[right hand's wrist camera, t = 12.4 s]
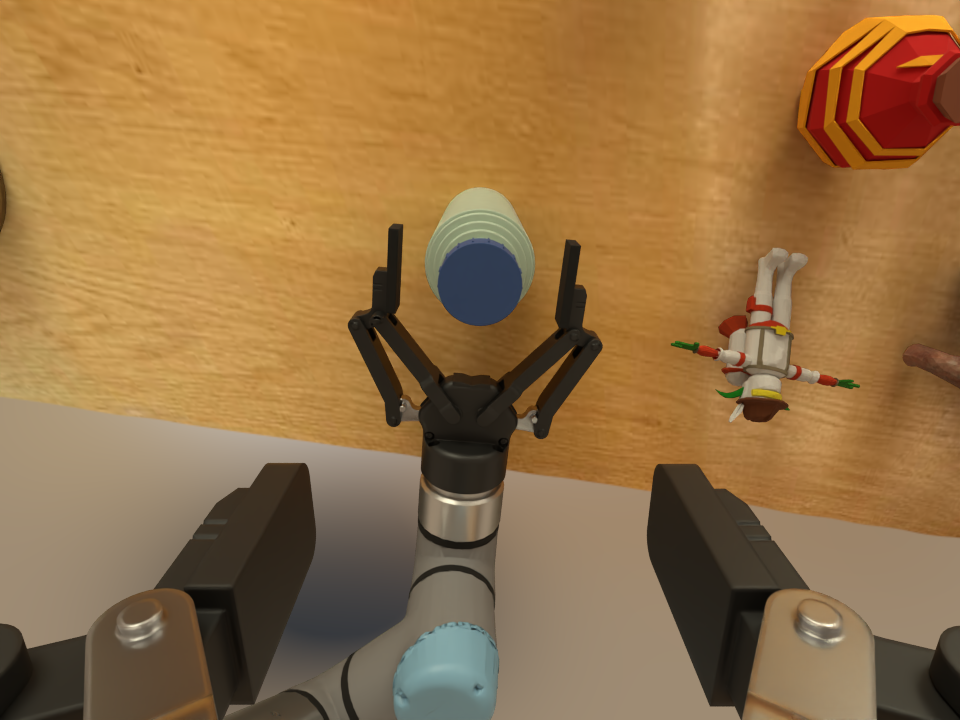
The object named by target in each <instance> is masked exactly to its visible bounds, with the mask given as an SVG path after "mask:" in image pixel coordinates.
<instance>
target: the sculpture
mask: <svg viewBox="0 0 960 720" xmlns="http://www.w3.org/2000/svg"><path fill="white" fill-rule="evenodd" d="M902 358H903V360H904V362H905V363H906V364H907V365H908V366H917V367H919V368H921V369H924V370H926V371H928V372H931V373H932V374H934V375H936V376H938V377H940V378H942V379H944V380H946V381H948V382H949V383H951V384H953V385H955V386H957V387H958V388H960V356H955V355H950V354H947V353H945V352H942V351H939V350H936V349H933V348H930V347H926V346H924V345H921V344H914V345H911V346H909V347H908V348H907V349H906V351H905V352H904V353H903V357H902Z"/></svg>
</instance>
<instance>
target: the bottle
mask: <svg viewBox="0 0 960 720" xmlns="http://www.w3.org/2000/svg"><path fill="white" fill-rule="evenodd" d="M473 237H474V238H486V239H488V238H490V239H491V240H494V241H496V242H498V243H500V244H504V246H505V247H506V248H507V249H508V250H509V251H510V252H511V253H512V254H514V255H515V258H516V261H517V263H518V266H519V268H521V271H522V274H521V276H522V287H523V289H522V292H521V296H520V299H519V302H520V300H521V299H522V298H523V297H524V296H525V294H526V293H527V291H528V289H529V287H530V285H531V283H532V280H533V276H534V271H535V256H534V251H533V247H532V244H531V242H530V240H529V238H528V236H527V234H526V232H525V230H524V228H523V226H522V224H521V222H520V220H519V218H518V216H517V214H516V212H515V210H514V208H513V206H512V205H511V203H510V202H509V201H508V200H507V198H505V197H504V196H503V195H502V194H500V193H499V192H497V191H495V190H492V189H489V188H483V187H477V188H471V189H468V190H465V191H463V192H461V193H460V194H458V195H457V196H456V197H455V198H454V199H452V201H451V202H450V203H449V205H448V206H447V208H446V210H445V212H444V214H443V216H442V218H441V220H440V222H439V224H438V226H437V228H436V230H435V232H434V234H433V236H432V238H431V240H430V242H429V244H428V247H427V251H426V257H425V270H426V276H427V280H428V283H429V285H430V287H431V289H432V291H433V293H434V294H435V296H436V297H437V298H438V299H439V300H440V302H441V299H440V297H439V293H438V287H437V285H438V276H439V272H438V271H439V268H440V266H442V263H443V261H444V259H445V257H446V254H447V253H449V252H450V251H451V250H452V249H453V248H454V247H455V246H457V244H458V243H462V242H464V241H466V240H469V239H472V238H473ZM519 302H518V303H519ZM441 303H442V302H441Z"/></svg>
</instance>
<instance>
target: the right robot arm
mask: <svg viewBox="0 0 960 720" xmlns="http://www.w3.org/2000/svg"><path fill="white" fill-rule="evenodd" d="M315 542H316V527H315V518H314V509H313V501H312V492H311V484H310V475H309V470H308V467H307V465H306V464H305V463H267V464H266V465H265V466H264V467H263V469H262V470H261V472H260V473H259V475H258V476H257V478H256V479H255V481H254V482H253V484H252V485H251V487H250V488H237V489H236V490H235V491H233V492H232V493H230V494H229V495H228V496H226V497H225V498H223V499H222V500H220V501H219V502H218V503H216V505H215V506H214V507H213V509H212V510H211V512H210V513H209V514H208V516H207V517H206V518H205V520H204V523H203V524H201V525H200V527H199V528H198V529H197V531H196V532H195V533H194V535H193V539H191V540H189V542H188V543H187V544H186V546H185V547H184V548H183V550H182V551H181V553H180V554H179V555H178V557H177V558H176V559H175V561H174V562H173V563H172V565H171V566H170V568H169V569H168V570H167V572H166V573H165V574H164V576H163V577H162V579H161V580H160V581H159V583H158V584H157V585H156V587H155V588H154V589H153V590H148V591H145V592H141V593H138V594H135V595H133V596H130V597H128V598H126V599H124V600H122V601H120V602H119V603H117V604H115V605H114V606H112V607H111V608H109V609H108V610H107V611H105V612H104V613H103V614H102V615H101V616H100V617H99V618H98V619H97V620H96V621H95V622H94V624H93V625H92V626H91V628H90V629H89V632H88V634H87V635H85V636H81V637H77V638H72V639H68V640H64V641H59V642H55V643H51V644H47V645H43V646H38V647H34V648H29V649H27V648H26V645H25V642H24V639H23V636H22V633H21V632H20V631H19V629H17V628H16V627H14V626H11V625H8V624H0V720H223V718H224V716H225V714H226V711H227V709H228V707H229V705H254V704H255V701H256V699H257V696H258V694H259V691H260V689H261V686H262V684H263V681H264V679H265V676H266V674H267V671H268V669H269V666H270V664H271V661H272V659H273V656H274V654H275V651H276V649H277V646H278V644H279V641H280V639H281V636H282V634H283V631H284V629H285V626H286V624H287V621H288V619H289V616H290V614H291V611H292V609H293V607H294V604H295V602H296V599H297V596H298V594H299V592H300V589H301V587H302V584H303V582H304V579H305V577H306V574H307V572H308V569H309V567H310V564H311V562H312V559H313V555H314V550H315ZM647 545H648V552H649V556H650V560H651V563H652V565H653V568H654V570H655V573H656V575H657V578H658V580H659V582H660V585H661V587H662V590H663V592H664V595H665V597H666V600H667V602H668V605H669V607H670V609H671V612H672V614H673V617H674V619H675V622H676V624H677V627H678V629H679V631H680V634H681V636H682V639H683V641H684V644H685V646H686V648H687V651H688V654H689V656H690V658H691V661H692V663H693V666H694V668H695V671H696V673H697V675H698V678H699V680H700V683H701V685H702V688H703V690H704V693H705V695H706V698H707V700H708V703H709V705H710V706H735V708H736V710H737V712H738V714H739V716H740V719H741V720H960V626H954V627H951V628H948V629H947V630H945V631H944V632H943V633H942V634H941V636H940V639H939V642H938V644H937V647H936V650H932V649H928V648H924V647H919V646H915V645H911V644H907V643H902V642H898V641H894V640H889V639H885V638H882V637H878V636H875V635H873V634H872V632H871V630H870V628H869V626H868V625H867V623H866V622H865V621H864V620H863V619H862V618H861V617H860V616H859V615H858V614H857V613H856V612H855V611H853V610H852V609H851V608H849V607H848V606H846V605H845V604H843V603H841V602H840V601H838V600H836V599H834V598H832V597H830V596H827V595H825V594H822V593H819V592H815V591H812V590H810V589H809V587H808V586H807V585H806V583H805V582H804V581H803V579H802V578H801V577H800V575H799V574H798V573H797V571H796V570H795V569H794V567H793V566H792V564H791V563H790V562H789V560H788V559H787V558H786V556H785V555H784V554H783V552H782V551H781V550H780V548H779V547H778V545H777V544H776V543H775V541H772V540H771V536H770V535H769V533H768V532H767V531H766V529H765V528H764V526H761V525H760V521H759V520H758V518H757V517H756V516H755V514H754V513H753V512H752V510H751V509H750V508H749V506H748V505H747V504H746V503H745V502H743V501H742V500H740V499H739V498H737V497H736V496H735V495H733V494H732V493H730V492H729V491H727V490H726V489H714V488H713V487H712V485H711V484H710V482H709V481H708V479H707V478H706V476H705V475H704V473H703V472H702V470H701V469H700V468H699V466H698V465H696V464H658V465H657V466H656V468H655V471H654V476H653V484H652V492H651V501H650V509H649V518H648V526H647Z"/></svg>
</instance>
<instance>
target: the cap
mask: <svg viewBox="0 0 960 720" xmlns="http://www.w3.org/2000/svg"><path fill="white" fill-rule="evenodd" d="M438 272H439V276H438V285H437V287H438V293H439V297H440V299H441V302H442V304H443V305H444V307H445V308H446V310H447V311H448V312H449V313H450V314H451V315H452V316H453V317H455V318H456V319H458V320H459V321H461V322H463V323H466V324H469V325H475V326H486V325H491V324H494V323H497V322H499V321H501V320H502V319H504V318H505V317H507V316H508V315H509V314H510V313H511V312H512V311H513V310H514V308H515V307H516V305H517V304H518V302H519V299H520V296H521V292H522V289H523V287H522V276H521V274H522V271H521V268H519V266H518V263H517V261H516V258H515V255H514V254H512V253H511V252H510V251H509V250H508V249H507V248H506V247H505V246H504V244H500V243H498V242H496V241H494V240H491V239H490V238H488V239H486V238H474V237H473V238H472V239H469V240H466V241H464V242H462V243H458V244H457V246H455V247H454V248H453V249H452V250H451V251H450V252H449V253H447V254H446V257H445V259H444V261H443V263H442V266H440V268H439V271H438Z"/></svg>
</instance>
